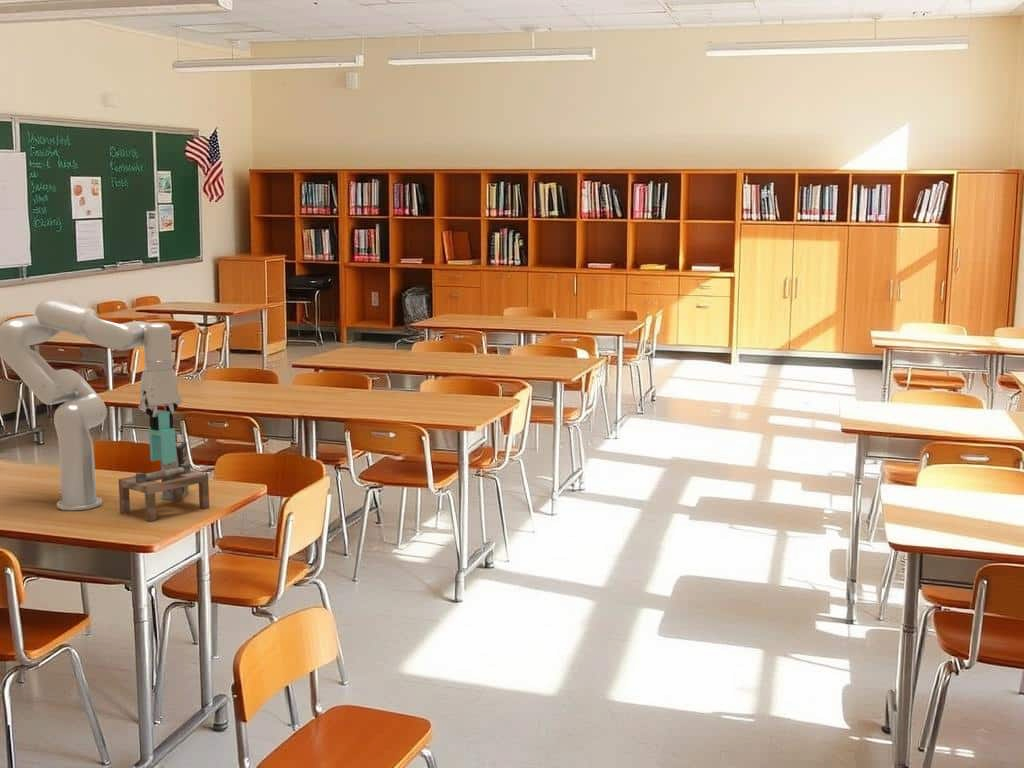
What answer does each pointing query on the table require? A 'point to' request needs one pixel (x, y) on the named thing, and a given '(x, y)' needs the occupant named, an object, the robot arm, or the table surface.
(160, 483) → the wooden rack stand
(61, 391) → the robot arm
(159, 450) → the teal stepped block
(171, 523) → the table surface
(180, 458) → the coffee box
